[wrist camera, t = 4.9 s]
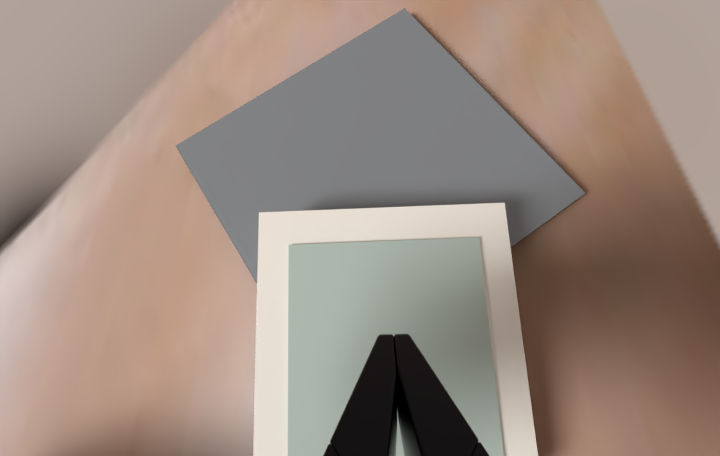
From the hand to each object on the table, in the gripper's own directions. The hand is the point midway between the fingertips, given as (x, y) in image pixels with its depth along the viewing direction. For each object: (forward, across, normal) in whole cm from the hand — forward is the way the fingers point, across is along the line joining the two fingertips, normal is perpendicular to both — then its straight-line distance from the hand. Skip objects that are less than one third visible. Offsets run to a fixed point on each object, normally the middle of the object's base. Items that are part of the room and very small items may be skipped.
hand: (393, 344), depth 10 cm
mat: (+14, +1, 0) cm, 14 cm away
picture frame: (+10, 0, +1) cm, 10 cm away
